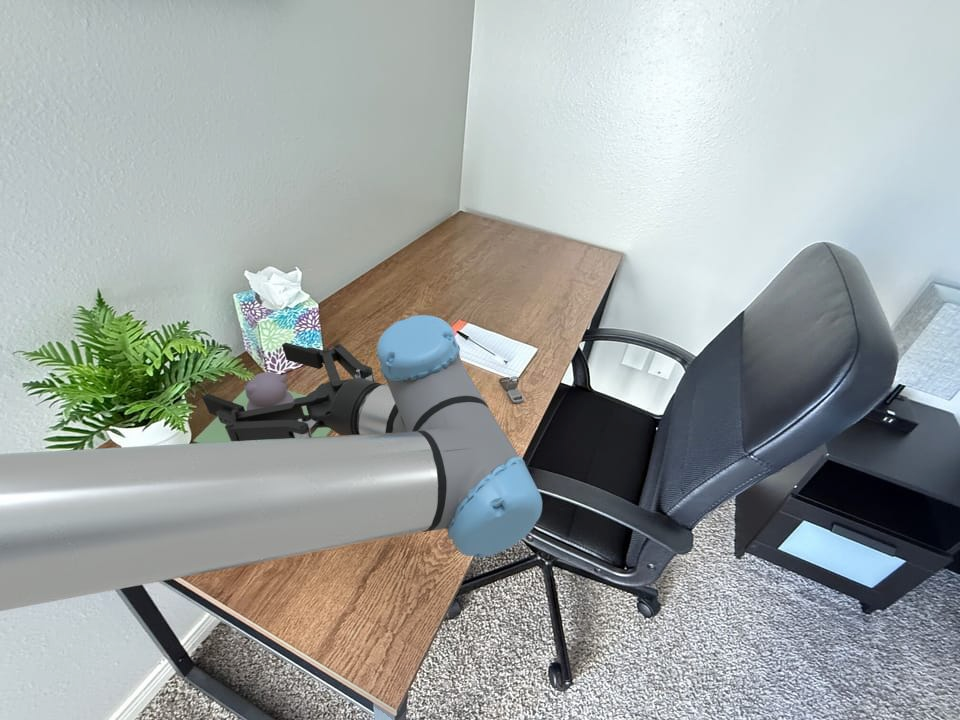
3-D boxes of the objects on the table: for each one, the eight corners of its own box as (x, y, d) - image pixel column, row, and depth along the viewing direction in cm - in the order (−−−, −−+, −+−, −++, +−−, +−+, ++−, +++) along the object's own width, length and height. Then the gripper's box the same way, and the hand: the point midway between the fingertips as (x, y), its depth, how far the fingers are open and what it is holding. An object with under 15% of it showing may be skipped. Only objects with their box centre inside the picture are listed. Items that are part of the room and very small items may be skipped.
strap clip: (524, 402, 105) (528, 388, 103) (512, 404, 104) (515, 390, 101) (509, 378, 111) (512, 364, 109) (498, 380, 110) (500, 366, 107)
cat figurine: (289, 402, 96) (280, 357, 89) (303, 426, 92) (295, 381, 84) (245, 418, 92) (232, 372, 84) (259, 444, 87) (246, 397, 80)
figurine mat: (193, 442, 86) (192, 440, 86) (253, 382, 100) (252, 381, 100) (301, 473, 84) (300, 472, 83) (347, 407, 98) (347, 406, 97)
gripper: (310, 509, 50) (179, 453, 58) (428, 382, 68) (317, 353, 76) (292, 459, 46) (154, 406, 53) (423, 339, 64) (306, 312, 72)
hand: (249, 375), depth 65 cm, fingers open, 13 cm apart
